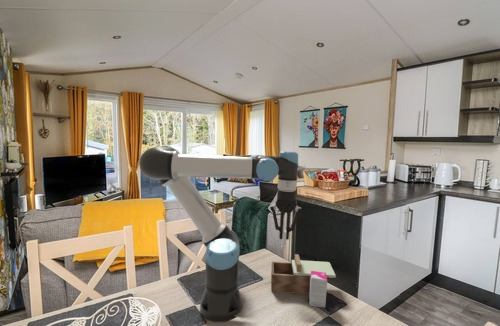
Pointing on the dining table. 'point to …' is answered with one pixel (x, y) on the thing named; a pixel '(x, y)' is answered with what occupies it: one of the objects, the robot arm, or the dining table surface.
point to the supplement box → (318, 289)
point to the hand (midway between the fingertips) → (283, 246)
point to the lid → (311, 267)
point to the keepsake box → (288, 279)
